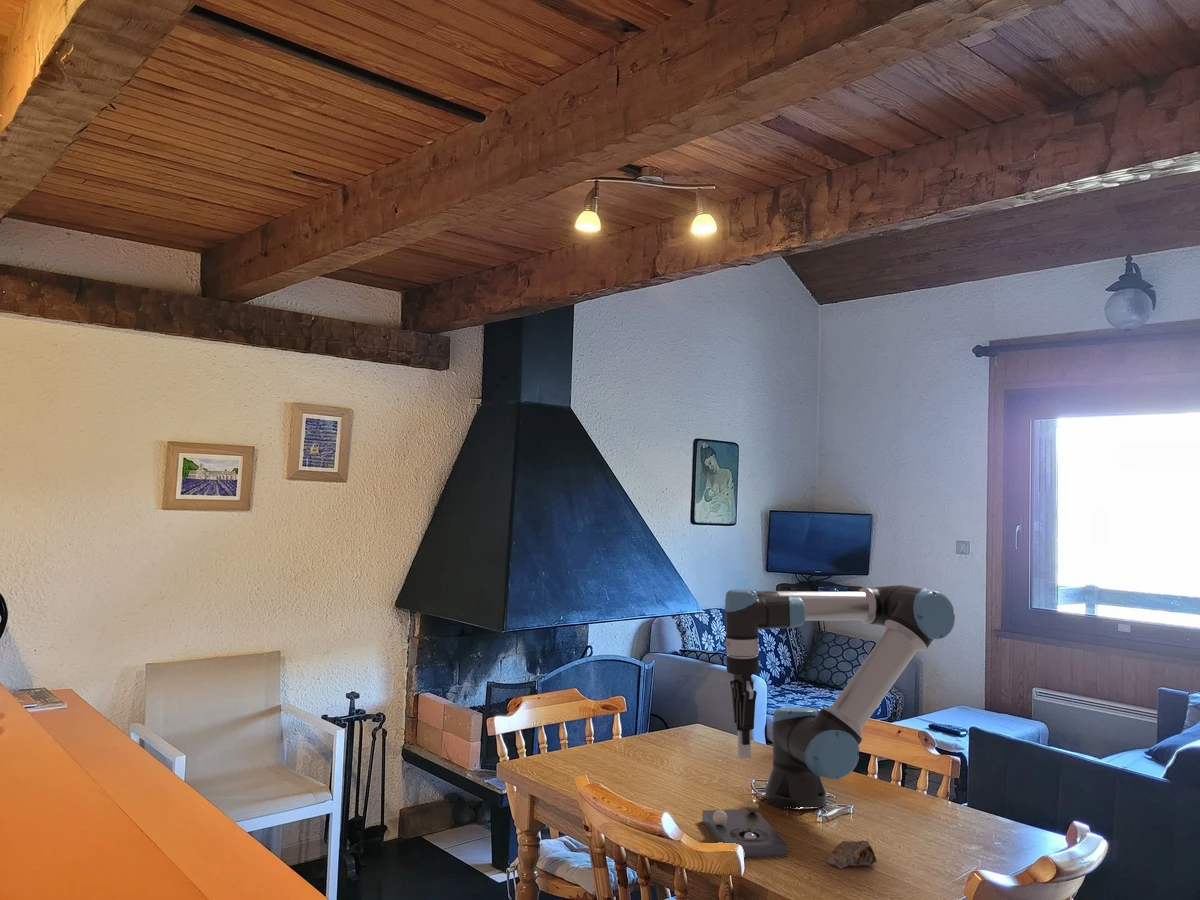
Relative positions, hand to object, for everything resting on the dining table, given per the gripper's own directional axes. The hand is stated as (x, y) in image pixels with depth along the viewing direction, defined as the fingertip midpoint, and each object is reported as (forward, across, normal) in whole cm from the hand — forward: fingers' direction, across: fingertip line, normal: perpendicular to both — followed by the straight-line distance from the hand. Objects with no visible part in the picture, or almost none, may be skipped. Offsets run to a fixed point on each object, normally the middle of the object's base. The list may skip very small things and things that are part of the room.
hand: (744, 757), depth 207 cm
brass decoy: (+12, -1, +2) cm, 12 cm away
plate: (+15, +8, -3) cm, 18 cm away
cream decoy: (+11, +6, -8) cm, 15 cm away
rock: (+17, +24, +16) cm, 33 cm away
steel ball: (+14, +13, -3) cm, 20 cm away
